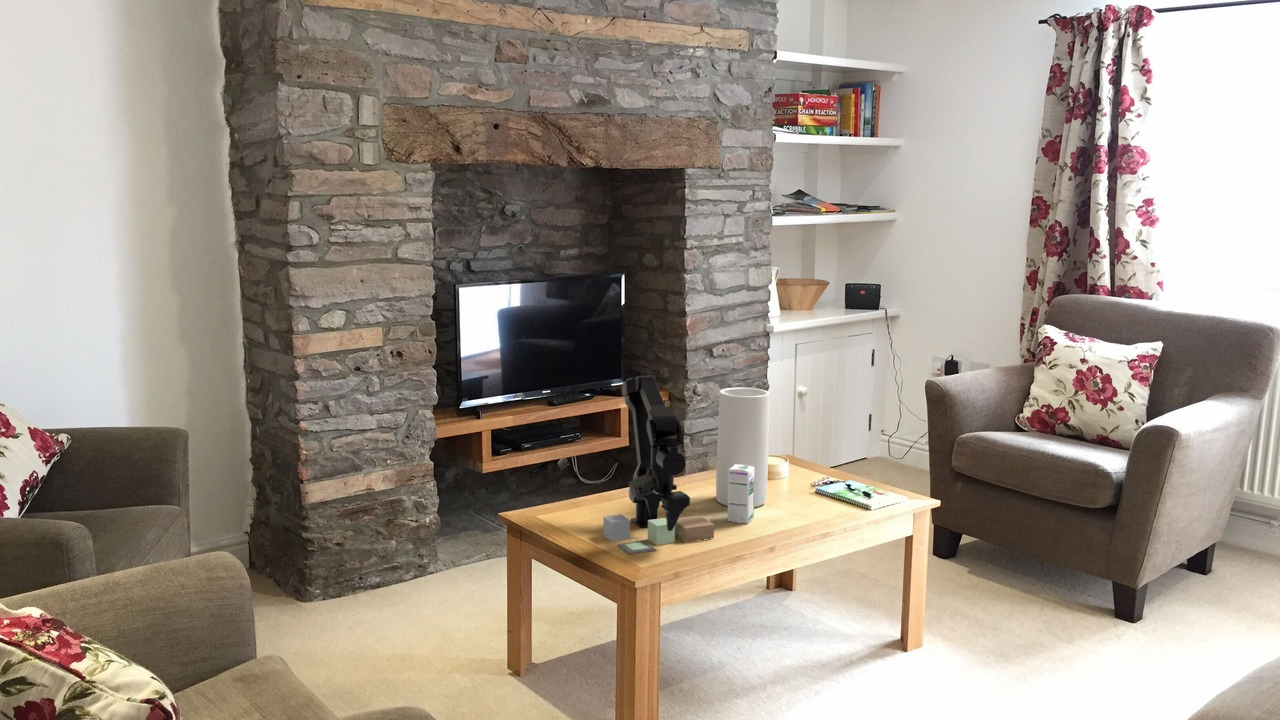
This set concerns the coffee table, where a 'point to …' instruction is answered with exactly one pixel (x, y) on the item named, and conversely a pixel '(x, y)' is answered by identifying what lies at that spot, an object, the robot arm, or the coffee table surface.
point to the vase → (743, 438)
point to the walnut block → (694, 529)
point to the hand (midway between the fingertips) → (661, 525)
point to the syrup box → (741, 493)
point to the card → (636, 547)
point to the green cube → (660, 532)
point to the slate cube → (616, 527)
